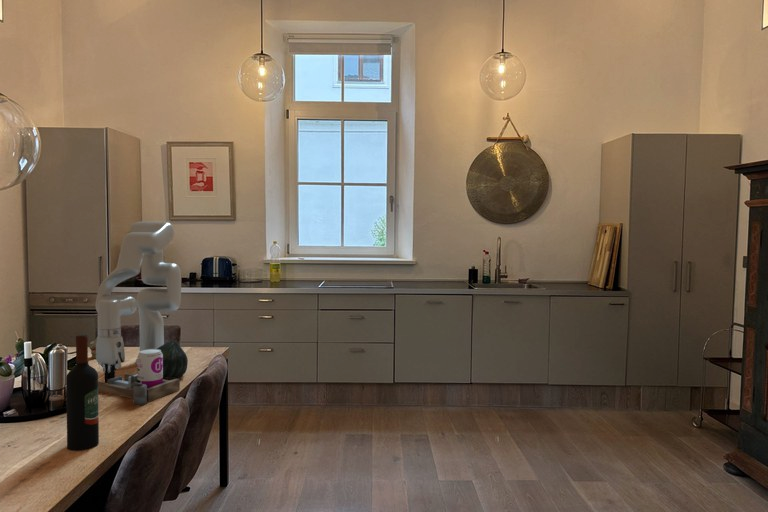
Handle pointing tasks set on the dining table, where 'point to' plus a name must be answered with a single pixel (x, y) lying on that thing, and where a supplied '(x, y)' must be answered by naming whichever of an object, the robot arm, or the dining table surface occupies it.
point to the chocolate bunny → (93, 348)
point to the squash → (173, 360)
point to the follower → (119, 381)
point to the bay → (140, 389)
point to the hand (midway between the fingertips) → (109, 381)
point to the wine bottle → (82, 401)
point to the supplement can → (150, 367)
